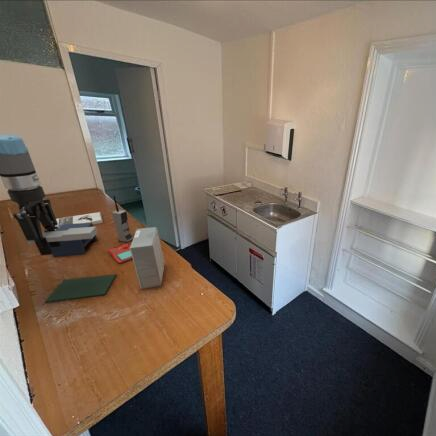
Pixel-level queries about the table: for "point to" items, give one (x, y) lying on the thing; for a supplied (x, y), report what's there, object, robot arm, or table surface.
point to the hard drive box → (147, 257)
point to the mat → (82, 288)
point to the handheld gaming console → (121, 253)
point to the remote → (69, 234)
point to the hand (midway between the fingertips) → (51, 250)
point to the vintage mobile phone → (121, 224)
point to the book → (81, 219)
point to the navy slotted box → (72, 242)
